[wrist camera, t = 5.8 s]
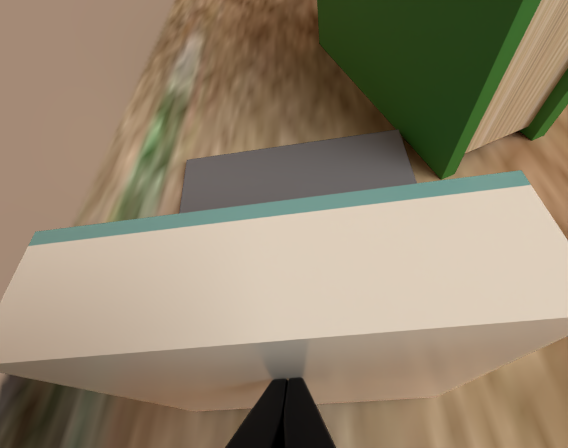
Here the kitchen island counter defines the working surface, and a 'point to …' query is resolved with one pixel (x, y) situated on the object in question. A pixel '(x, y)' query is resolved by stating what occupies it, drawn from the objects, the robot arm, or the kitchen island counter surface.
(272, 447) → the robot arm
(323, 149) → the mat
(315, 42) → the kitchen island counter surface
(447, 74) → the hardback book
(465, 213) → the tile
